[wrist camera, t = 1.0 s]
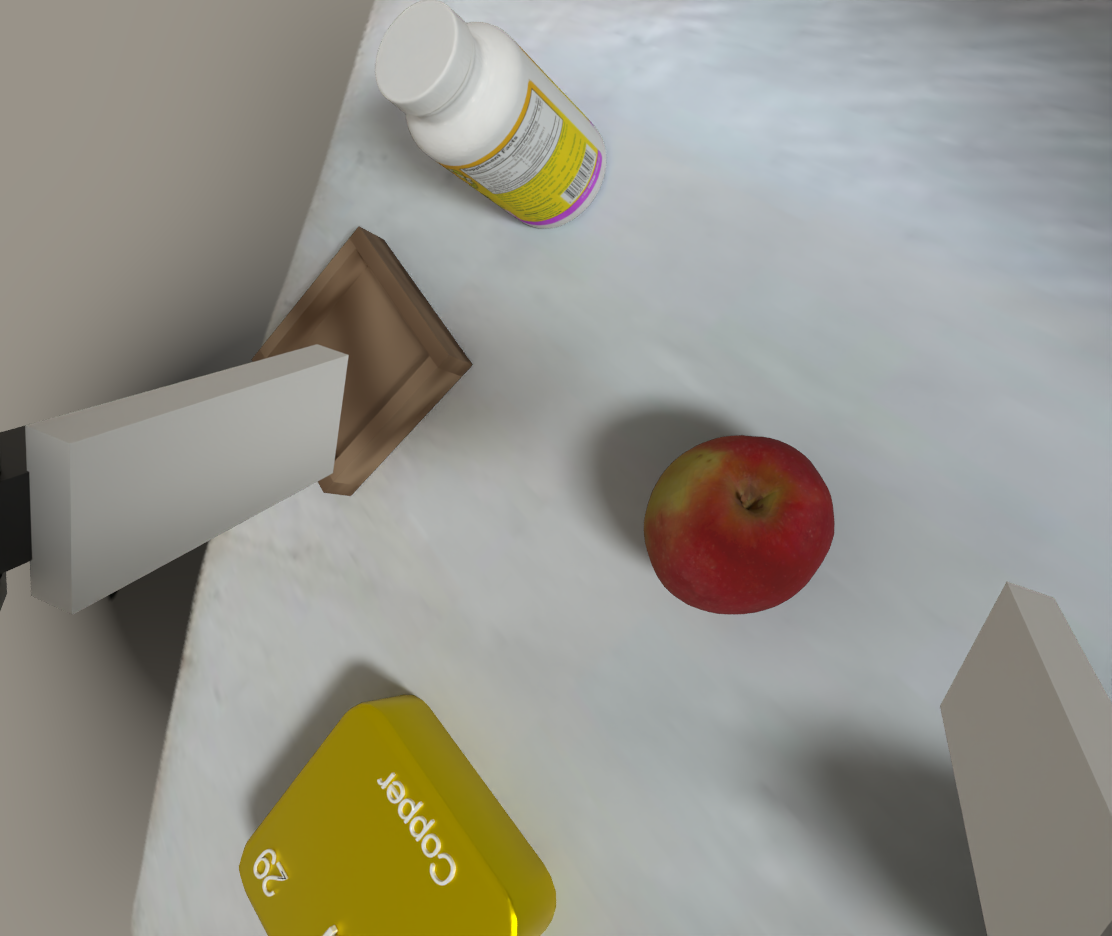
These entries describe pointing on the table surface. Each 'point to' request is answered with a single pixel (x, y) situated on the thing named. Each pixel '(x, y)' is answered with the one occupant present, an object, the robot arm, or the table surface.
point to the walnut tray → (372, 352)
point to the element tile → (393, 840)
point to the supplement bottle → (490, 114)
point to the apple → (738, 524)
